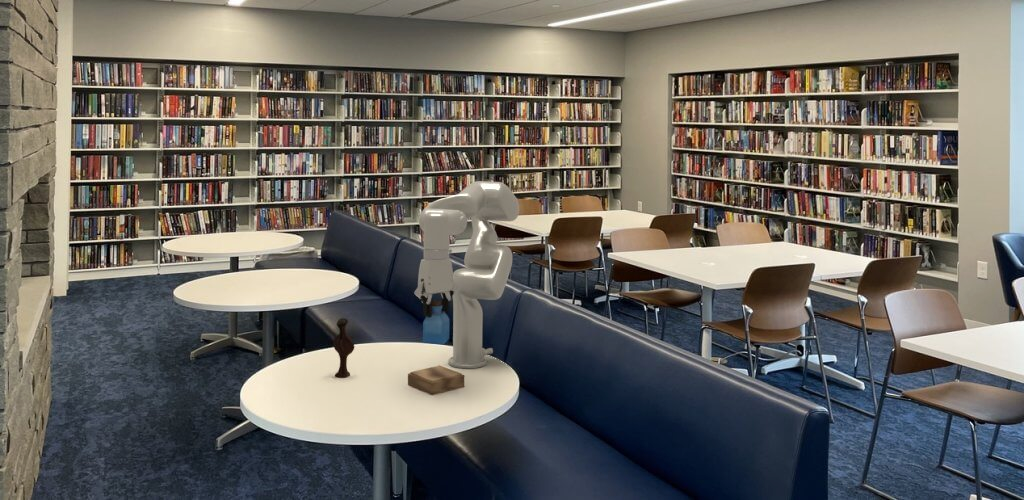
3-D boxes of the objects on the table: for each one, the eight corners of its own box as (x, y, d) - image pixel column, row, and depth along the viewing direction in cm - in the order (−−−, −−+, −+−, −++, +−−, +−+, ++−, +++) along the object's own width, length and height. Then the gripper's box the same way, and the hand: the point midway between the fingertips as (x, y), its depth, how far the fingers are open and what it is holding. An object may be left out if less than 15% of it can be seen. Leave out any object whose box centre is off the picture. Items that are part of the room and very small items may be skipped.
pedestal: (439, 377, 244) (439, 364, 244) (464, 386, 236) (464, 373, 235) (407, 385, 236) (407, 372, 236) (432, 395, 228) (432, 381, 227)
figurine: (358, 374, 245) (357, 318, 242) (349, 379, 240) (349, 322, 238) (338, 372, 248) (337, 316, 245) (329, 376, 243) (328, 319, 240)
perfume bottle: (443, 344, 230) (443, 304, 229) (423, 342, 232) (423, 302, 230) (449, 339, 236) (449, 299, 235) (429, 337, 238) (429, 298, 236)
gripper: (451, 250, 239) (451, 308, 241) (404, 255, 227) (404, 316, 230) (467, 253, 233) (466, 313, 236) (420, 259, 222) (420, 321, 224)
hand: (436, 314), depth 233 cm, fingers closed on perfume bottle, 5 cm apart
